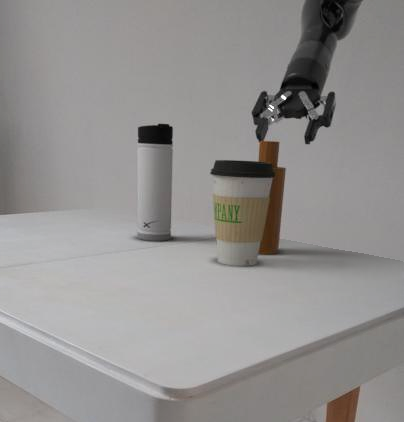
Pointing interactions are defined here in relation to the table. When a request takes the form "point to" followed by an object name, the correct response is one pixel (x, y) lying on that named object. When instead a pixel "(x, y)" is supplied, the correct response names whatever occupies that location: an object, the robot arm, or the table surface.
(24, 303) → the table surface
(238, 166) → the coffee cup
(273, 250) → the amber bottle
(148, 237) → the travel mug
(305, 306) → the table surface
